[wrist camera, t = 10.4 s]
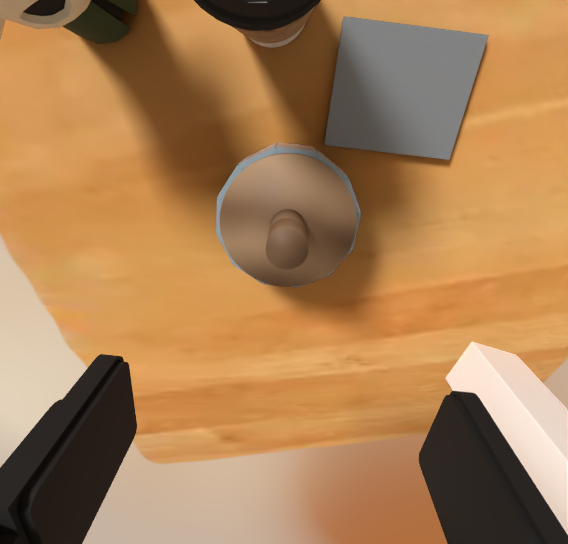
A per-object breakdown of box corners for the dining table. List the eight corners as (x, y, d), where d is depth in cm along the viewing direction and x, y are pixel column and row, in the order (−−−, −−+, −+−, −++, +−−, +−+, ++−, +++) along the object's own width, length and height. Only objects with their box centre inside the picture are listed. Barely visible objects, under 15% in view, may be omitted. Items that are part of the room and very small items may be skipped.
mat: (484, 36, 25) (488, 35, 25) (446, 158, 29) (449, 159, 28) (342, 18, 25) (344, 16, 24) (323, 144, 29) (324, 145, 28)
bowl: (360, 151, 29) (373, 157, 24) (337, 268, 34) (343, 292, 29) (229, 135, 29) (218, 139, 24) (225, 256, 34) (215, 278, 29)
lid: (341, 287, 29) (352, 326, 24) (220, 274, 29) (204, 311, 24) (367, 161, 25) (388, 174, 19) (223, 144, 24) (204, 153, 19)
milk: (444, 377, 40) (590, 635, 20) (471, 339, 38) (669, 592, 18) (488, 389, 41) (671, 651, 21) (517, 353, 38) (758, 612, 18)
